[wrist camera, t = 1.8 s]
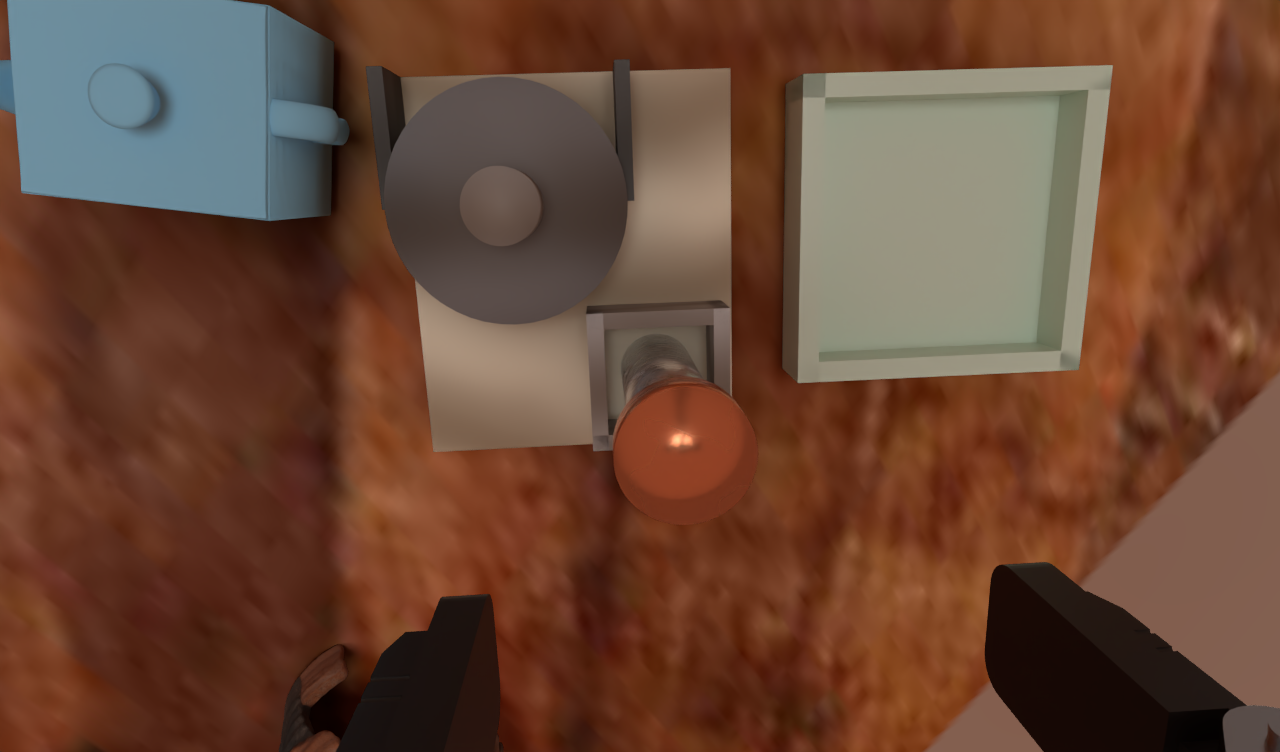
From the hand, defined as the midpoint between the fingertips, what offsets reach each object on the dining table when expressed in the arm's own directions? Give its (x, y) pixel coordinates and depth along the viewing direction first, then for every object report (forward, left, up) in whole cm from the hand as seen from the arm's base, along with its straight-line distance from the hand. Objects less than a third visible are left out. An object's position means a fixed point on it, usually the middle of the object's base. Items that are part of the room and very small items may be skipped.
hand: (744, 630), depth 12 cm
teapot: (-10, -16, -20) cm, 27 cm away
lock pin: (0, 0, -18) cm, 18 cm away
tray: (-5, +11, -20) cm, 23 cm away
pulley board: (-4, -3, -20) cm, 20 cm away
